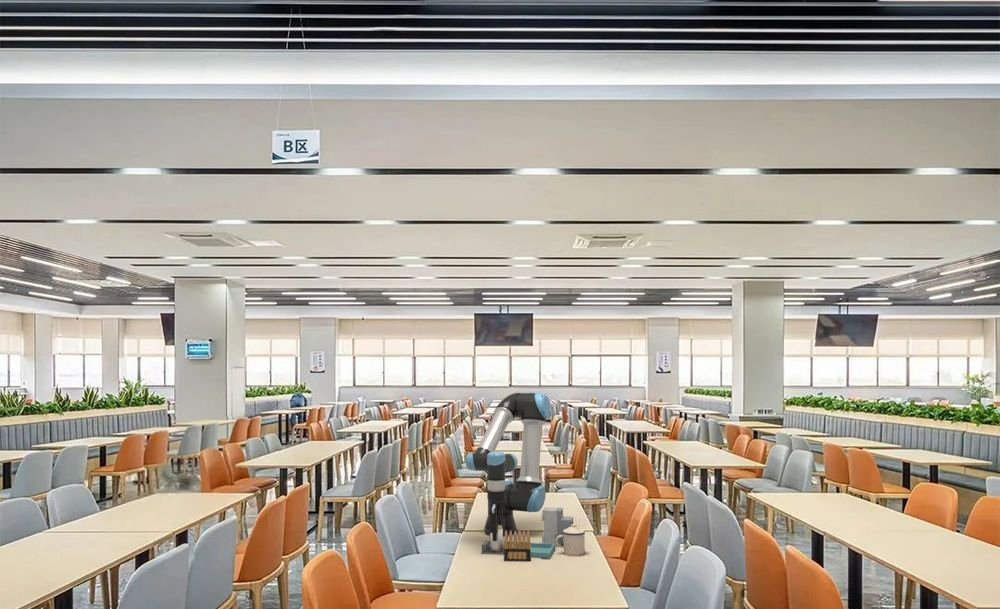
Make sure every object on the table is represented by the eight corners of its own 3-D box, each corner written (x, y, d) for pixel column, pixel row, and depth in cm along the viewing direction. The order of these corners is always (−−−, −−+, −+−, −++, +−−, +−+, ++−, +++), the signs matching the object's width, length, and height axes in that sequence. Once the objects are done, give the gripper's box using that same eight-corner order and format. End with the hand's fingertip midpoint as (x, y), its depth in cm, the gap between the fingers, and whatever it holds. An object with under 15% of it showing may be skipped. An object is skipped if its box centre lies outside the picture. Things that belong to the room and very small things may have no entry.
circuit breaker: (575, 547, 316) (575, 511, 318) (542, 546, 319) (541, 510, 320) (577, 543, 324) (576, 508, 325) (544, 542, 327) (544, 507, 328)
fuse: (492, 548, 313) (492, 524, 314) (503, 549, 312) (503, 524, 313) (489, 551, 308) (489, 526, 309) (501, 551, 307) (501, 527, 308)
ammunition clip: (531, 561, 295) (530, 530, 296) (530, 562, 293) (530, 531, 294) (504, 560, 296) (503, 529, 297) (503, 562, 294) (503, 530, 295)
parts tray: (518, 548, 316) (518, 542, 316) (555, 549, 313) (555, 543, 313) (511, 557, 301) (510, 551, 301) (549, 559, 297) (549, 553, 298)
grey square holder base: (487, 547, 317) (487, 539, 317) (512, 548, 315) (512, 540, 315) (480, 554, 305) (480, 545, 306) (506, 555, 303) (506, 547, 303)
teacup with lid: (583, 550, 312) (583, 521, 312) (586, 555, 302) (586, 526, 303) (554, 550, 311) (554, 522, 312) (557, 556, 302) (556, 526, 303)
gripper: (492, 486, 322) (492, 541, 320) (482, 493, 304) (482, 551, 302) (509, 486, 320) (509, 542, 318) (500, 493, 303) (500, 552, 301)
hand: (496, 546), depth 310 cm, fingers closed on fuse, 5 cm apart
